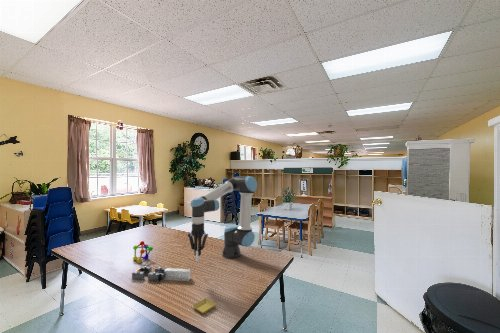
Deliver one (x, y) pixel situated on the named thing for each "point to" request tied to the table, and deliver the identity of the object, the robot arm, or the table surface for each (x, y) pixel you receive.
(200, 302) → the yellow tray
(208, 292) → the table surface
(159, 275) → the dark grey blocks
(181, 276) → the link bar
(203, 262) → the table surface
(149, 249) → the educational toy
